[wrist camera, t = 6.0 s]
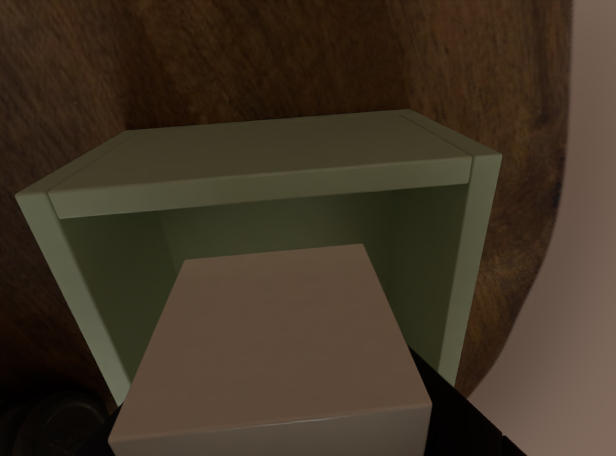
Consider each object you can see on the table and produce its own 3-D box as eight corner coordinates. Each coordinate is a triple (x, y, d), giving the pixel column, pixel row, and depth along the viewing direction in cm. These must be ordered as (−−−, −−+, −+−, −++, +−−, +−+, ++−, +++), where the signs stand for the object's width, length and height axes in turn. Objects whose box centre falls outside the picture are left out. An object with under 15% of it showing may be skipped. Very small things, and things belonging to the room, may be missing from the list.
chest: (124, 130, 15) (11, 194, 9) (409, 108, 16) (503, 153, 9) (195, 364, 22) (161, 497, 16) (391, 343, 23) (438, 463, 16)
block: (363, 242, 9) (434, 404, 5) (361, 365, 11) (409, 548, 7) (183, 258, 8) (104, 441, 5) (216, 381, 11) (181, 578, 7)
